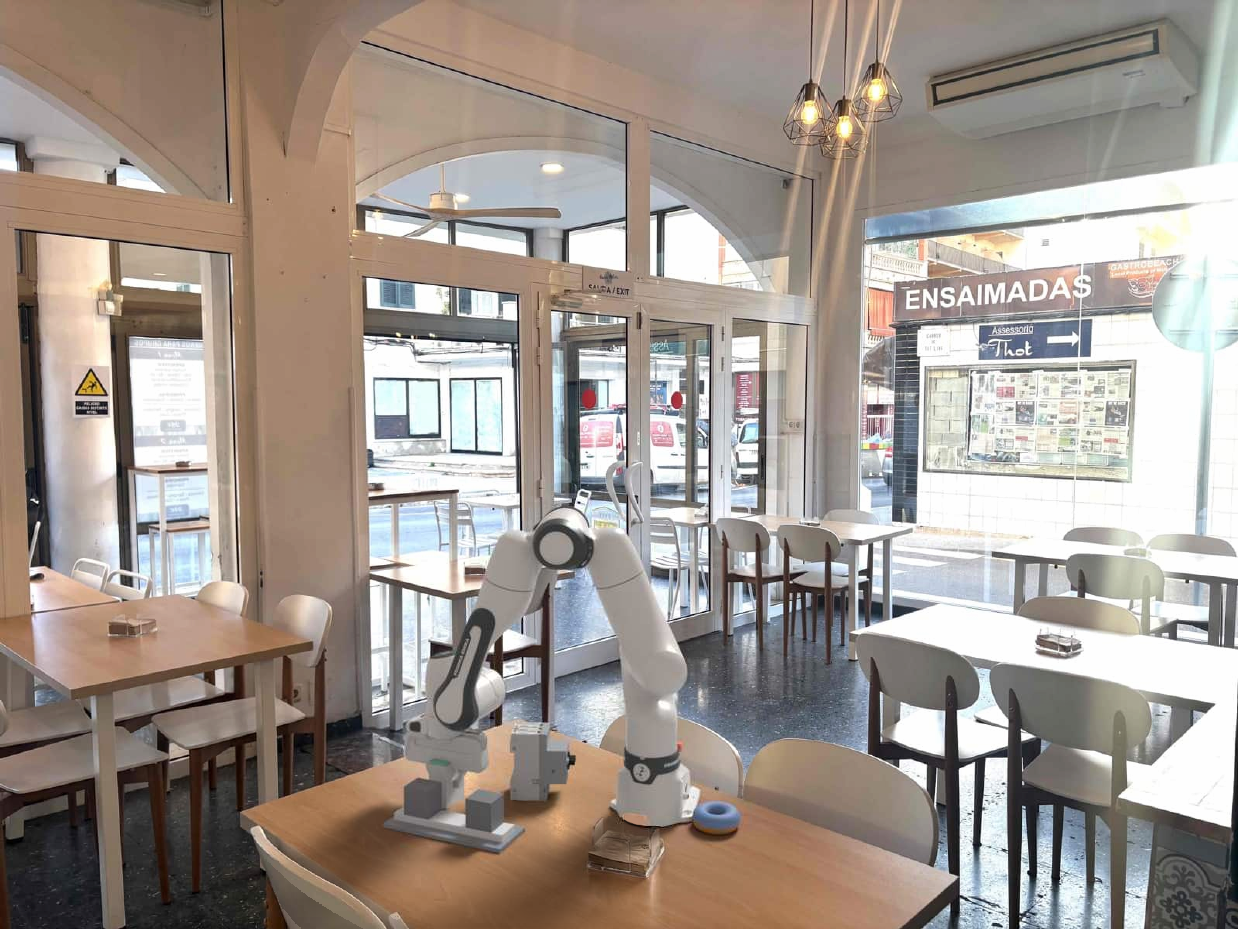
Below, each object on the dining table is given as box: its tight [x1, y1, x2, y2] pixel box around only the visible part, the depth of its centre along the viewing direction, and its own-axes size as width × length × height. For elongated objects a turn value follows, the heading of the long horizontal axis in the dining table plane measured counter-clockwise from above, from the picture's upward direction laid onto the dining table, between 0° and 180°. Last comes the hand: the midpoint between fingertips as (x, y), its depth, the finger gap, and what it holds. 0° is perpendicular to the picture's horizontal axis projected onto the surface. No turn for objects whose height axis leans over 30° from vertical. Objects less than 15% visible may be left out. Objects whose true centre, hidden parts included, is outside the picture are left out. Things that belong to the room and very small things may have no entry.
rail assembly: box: [382, 777, 526, 854], centre depth 184 cm, size 10×28×8 cm, turn 67°
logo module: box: [428, 758, 465, 810], centre depth 197 cm, size 4×7×10 cm, turn 157°
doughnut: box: [692, 800, 741, 836], centre depth 186 cm, size 10×10×5 cm
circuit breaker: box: [509, 722, 577, 802], centre depth 201 cm, size 8×14×15 cm, turn 89°
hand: (446, 785), depth 197 cm, fingers closed on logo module, 4 cm apart
